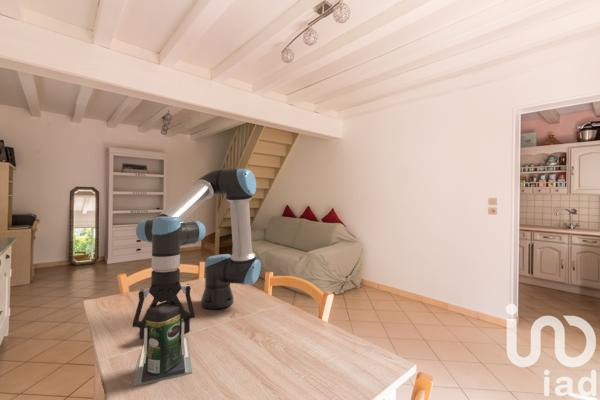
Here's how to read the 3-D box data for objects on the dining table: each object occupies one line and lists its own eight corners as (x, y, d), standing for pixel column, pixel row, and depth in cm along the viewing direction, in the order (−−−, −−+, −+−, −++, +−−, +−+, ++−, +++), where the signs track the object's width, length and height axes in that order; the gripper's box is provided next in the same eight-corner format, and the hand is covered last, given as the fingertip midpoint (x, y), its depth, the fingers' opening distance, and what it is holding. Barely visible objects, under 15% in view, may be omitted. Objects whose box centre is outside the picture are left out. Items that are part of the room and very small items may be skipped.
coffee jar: (166, 354, 87) (167, 295, 88) (186, 360, 85) (187, 299, 85) (139, 372, 78) (140, 306, 79) (160, 379, 76) (161, 310, 76)
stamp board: (187, 339, 101) (187, 337, 101) (192, 373, 81) (192, 370, 81) (140, 348, 95) (140, 345, 95) (132, 387, 75) (132, 384, 75)
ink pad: (185, 358, 88) (185, 354, 88) (186, 372, 80) (186, 368, 80) (142, 367, 83) (142, 363, 83) (139, 383, 75) (139, 379, 75)
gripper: (203, 263, 90) (202, 333, 90) (124, 269, 81) (123, 347, 80) (206, 268, 83) (204, 344, 83) (120, 275, 74) (118, 360, 74)
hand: (164, 345), depth 82 cm, fingers closed on coffee jar, 9 cm apart
